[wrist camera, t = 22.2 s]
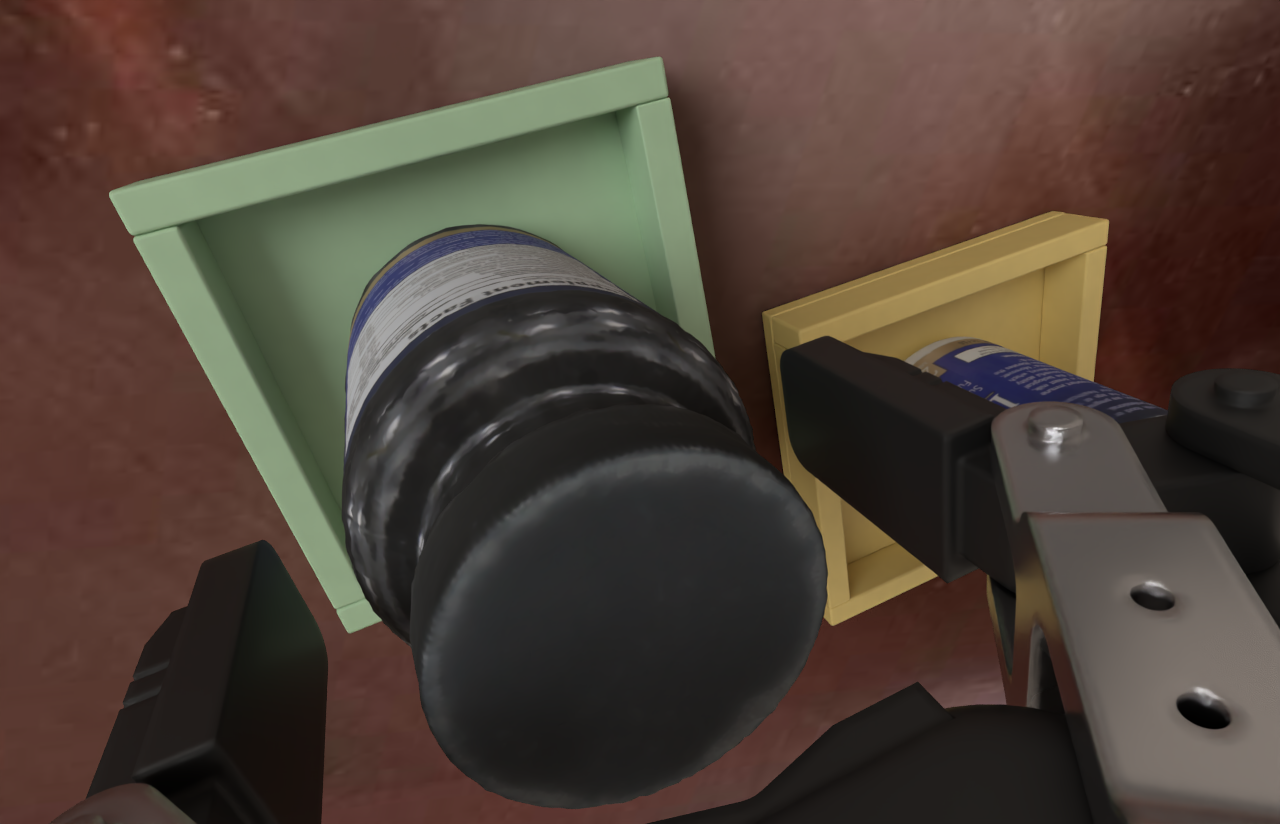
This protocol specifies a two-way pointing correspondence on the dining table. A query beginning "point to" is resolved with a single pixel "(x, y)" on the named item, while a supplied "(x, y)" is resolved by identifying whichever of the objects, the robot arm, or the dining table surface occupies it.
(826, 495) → the yellow tray
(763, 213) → the dining table surface
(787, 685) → the pill bottle
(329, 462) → the green tray
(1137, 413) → the pill bottle
